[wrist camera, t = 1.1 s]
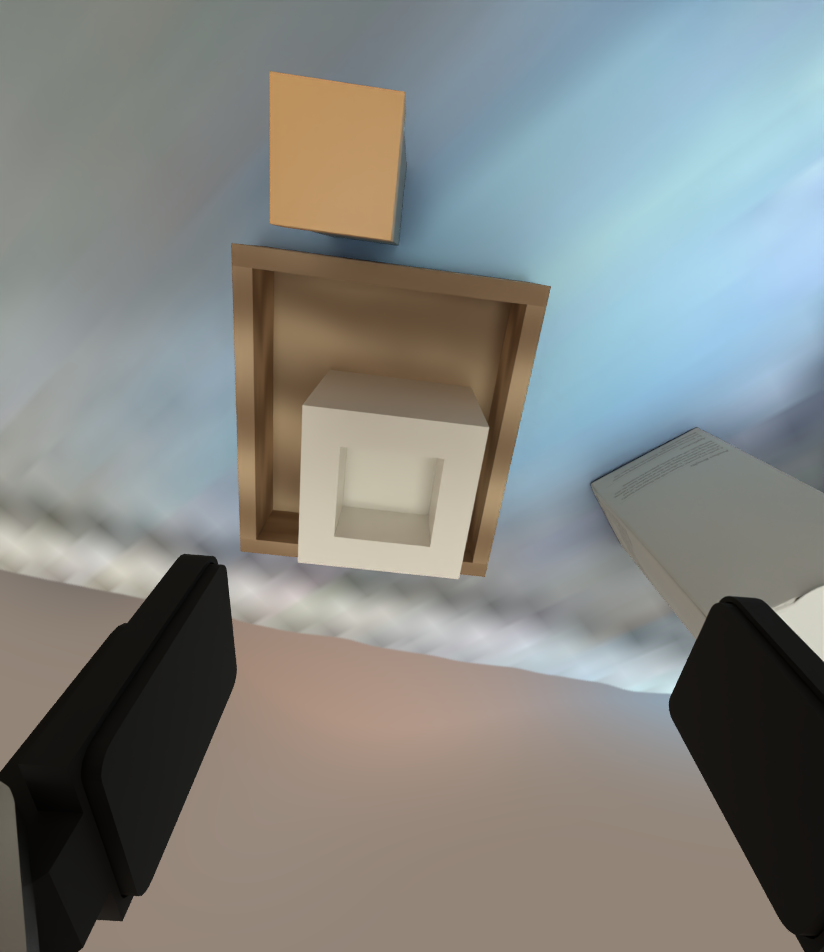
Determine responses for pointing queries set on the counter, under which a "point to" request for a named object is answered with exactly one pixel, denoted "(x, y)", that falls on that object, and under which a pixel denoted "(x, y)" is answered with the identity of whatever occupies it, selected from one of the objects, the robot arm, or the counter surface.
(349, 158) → the square peg
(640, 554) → the skincare box
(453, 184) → the counter surface
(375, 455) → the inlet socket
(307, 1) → the counter surface
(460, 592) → the counter surface
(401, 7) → the counter surface
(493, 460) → the crate
